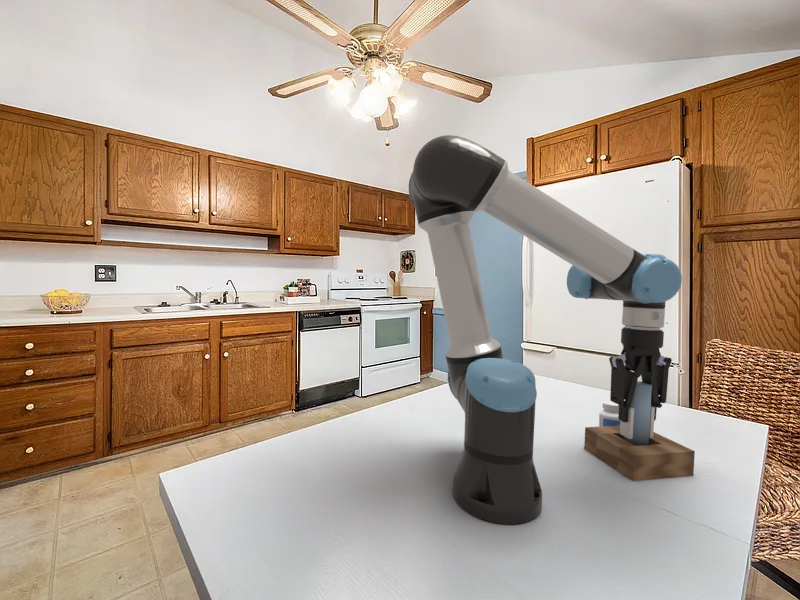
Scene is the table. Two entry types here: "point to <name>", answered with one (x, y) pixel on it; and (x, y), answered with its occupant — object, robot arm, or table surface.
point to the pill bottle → (609, 414)
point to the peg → (641, 414)
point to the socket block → (639, 454)
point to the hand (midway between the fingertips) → (636, 435)
